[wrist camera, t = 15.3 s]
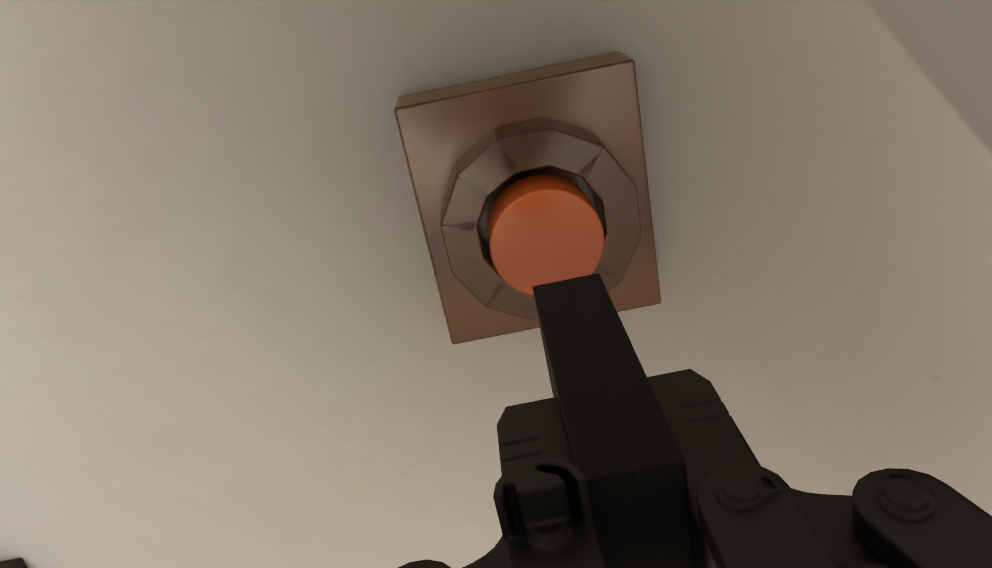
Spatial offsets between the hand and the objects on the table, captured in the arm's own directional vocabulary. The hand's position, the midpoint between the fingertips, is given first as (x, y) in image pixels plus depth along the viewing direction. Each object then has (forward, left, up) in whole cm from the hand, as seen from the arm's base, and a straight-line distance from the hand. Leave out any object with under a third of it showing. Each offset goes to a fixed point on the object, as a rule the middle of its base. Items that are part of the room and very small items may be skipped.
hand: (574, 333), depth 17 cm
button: (0, 0, -9) cm, 9 cm away
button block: (0, 0, -12) cm, 12 cm away
